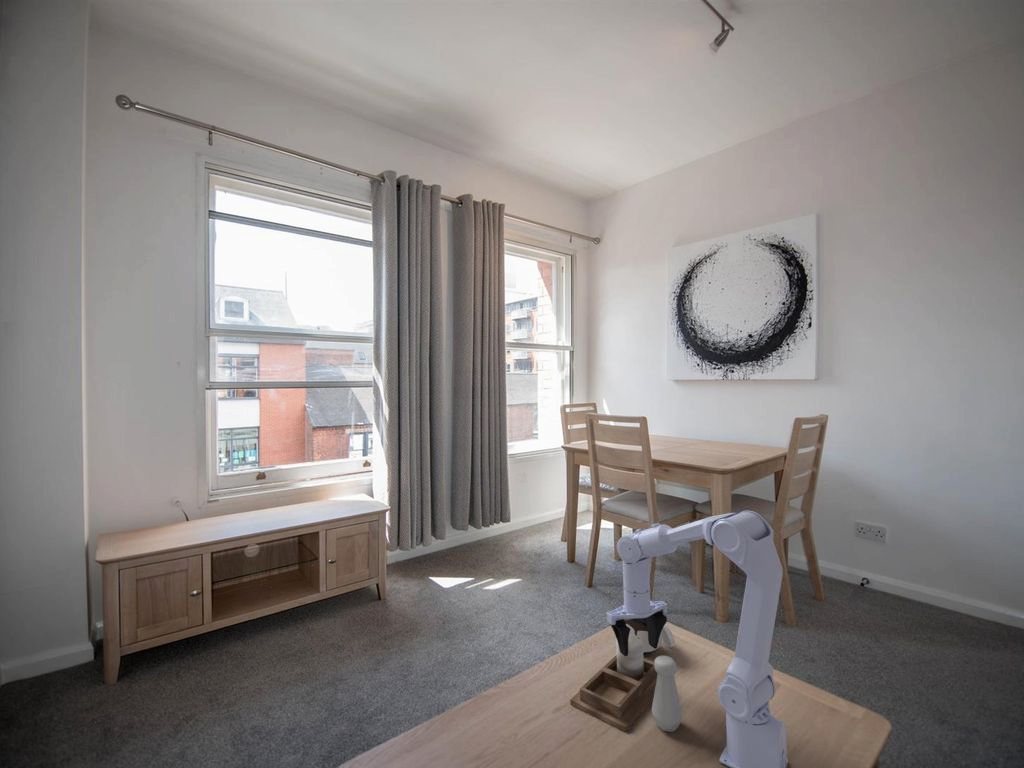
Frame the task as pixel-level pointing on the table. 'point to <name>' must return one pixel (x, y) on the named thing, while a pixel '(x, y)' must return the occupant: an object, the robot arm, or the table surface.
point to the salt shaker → (666, 695)
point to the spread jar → (641, 632)
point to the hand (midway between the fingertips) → (638, 650)
